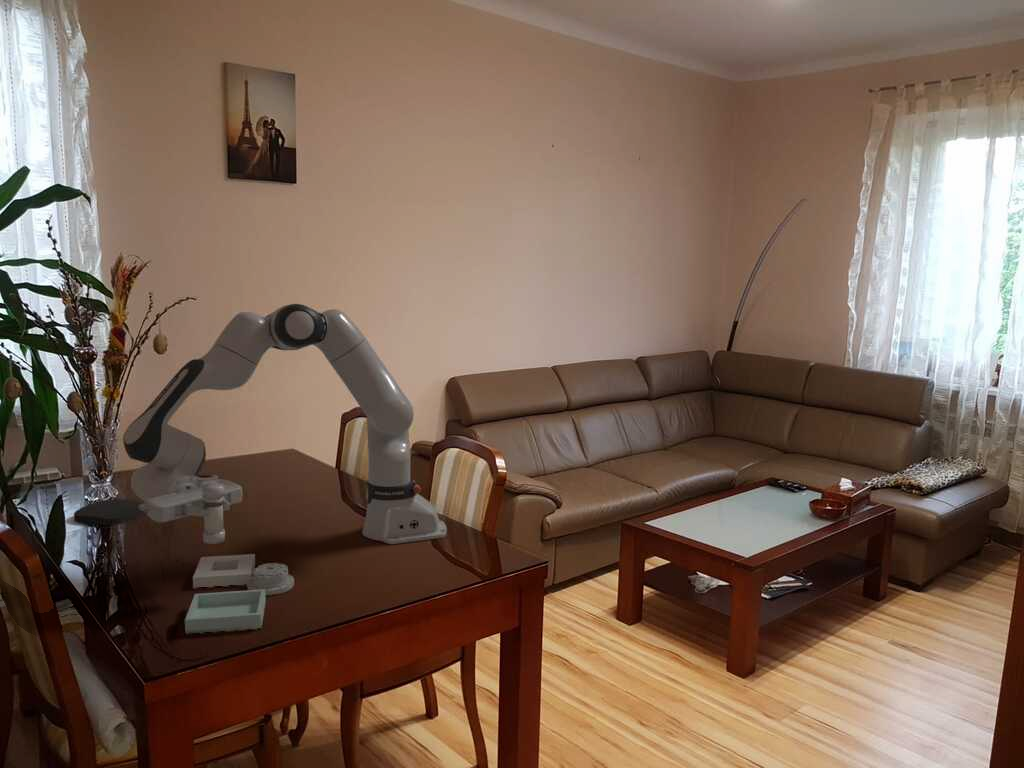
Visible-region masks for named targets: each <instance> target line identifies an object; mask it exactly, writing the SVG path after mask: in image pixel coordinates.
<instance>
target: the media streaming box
mask: <svg viewBox="0 0 1024 768" xmlns="http://www.w3.org/2000/svg"><path fill="white" fill-rule="evenodd" d="M142 503H143V502H140V501H136V500H130V499H111V500H110V499H109V500H103V501H97V502H91V503H89V504H87V505H85V506H82V507H81V508H79V509H76V511H74V513H73V516H74V517H73V520H74V522H75V523H77V524H86V525H94V526H95V525H96V526H104V527H105V526H106V525H110V526H116V525H115V524H117V525H120V524H119V523H121V524H123V523H122V522H124V523H126V522H128V521H130V520H129V519H131V518H133V517H135V516H137V515H139V514H141V513H143V512H144V511H142V510H140V509H139V505H142ZM144 513H145V512H144ZM144 513H143V514H144ZM141 515H142V514H141ZM139 516H140V515H139ZM137 517H138V516H137ZM135 518H136V517H135ZM133 519H134V518H133ZM127 520H128V521H127ZM131 520H132V519H131ZM125 521H126V522H125ZM106 527H107V526H106Z"/></svg>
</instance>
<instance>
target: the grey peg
mask: <svg viewBox="0 0 1024 768" xmlns="http://www.w3.org/2000/svg"><path fill="white" fill-rule="evenodd" d="M223 496H224V485H223V484H219V483H211V484H206V485H203V486H202V497H204V506H205V507H207V508H208V515H206V516H203V522H204V523H203V524H204V525H203V526H204V527H203V528H204V530H203V532H202V540H203V541H202V542H203V543H205V544H209V545H215V544H219V543H223V542H225V540H226V529H224V511H223Z"/></svg>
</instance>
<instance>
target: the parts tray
mask: <svg viewBox="0 0 1024 768" xmlns="http://www.w3.org/2000/svg"><path fill="white" fill-rule="evenodd" d="M266 596H267V595H266V592H265V589H261V590H248V589H247V590H236V591H235V590H234V591H233V590H232V591H219V592H205V593H194V596H193V598H192V601H191V603H190V606H189V609H188V611H187V613H186V617H185V619H184V629H185V630H184V631H185V632H184V633H185V634H187V635H190V634H189V633H200V634H205V633H204V632H213V633H220V632H219V631H225V632H235V631H236V630H238V631H246V630H247V629H251V630H259V629H258V628H261V629H262V627H261V626H263V619H264V614H265V610H264V609H265V608H266V604H265V603H266V599H267V598H266ZM217 631H218V632H217ZM247 631H248V630H247ZM236 632H237V631H236Z"/></svg>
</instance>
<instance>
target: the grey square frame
mask: <svg viewBox="0 0 1024 768" xmlns="http://www.w3.org/2000/svg"><path fill="white" fill-rule="evenodd" d="M254 568H256V554H255V553H252V554H232V555H217V556H216V555H215V556H202V557H200V559H199V561H198V564H197V566H196V569H195V570H194V571H195V572H194V573H193V576H192V589H199V588H198V587H207V588H215V587H214V586H222V587H230V586H229V585H237V586H247V582H248V581H249V580H250V579H251V578H253V576H252V575H253V571H254ZM244 584H245V585H244ZM196 587H197V588H196Z"/></svg>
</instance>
